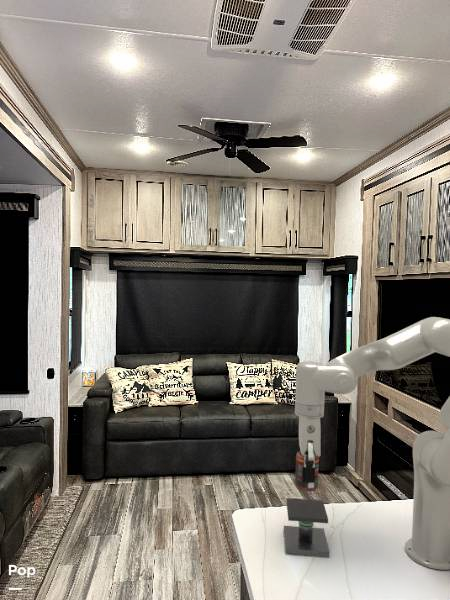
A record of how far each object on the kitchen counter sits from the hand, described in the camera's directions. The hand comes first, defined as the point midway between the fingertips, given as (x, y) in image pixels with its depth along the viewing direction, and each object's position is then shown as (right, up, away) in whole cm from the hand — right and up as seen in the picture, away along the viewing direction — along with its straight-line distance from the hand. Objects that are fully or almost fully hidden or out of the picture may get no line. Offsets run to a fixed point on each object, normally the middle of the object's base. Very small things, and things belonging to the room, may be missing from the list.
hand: (306, 475), depth 117 cm
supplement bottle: (0, -3, 0) cm, 3 cm away
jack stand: (0, -18, 0) cm, 18 cm away
